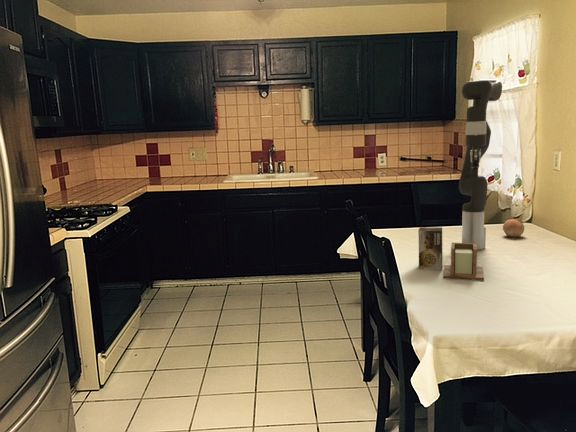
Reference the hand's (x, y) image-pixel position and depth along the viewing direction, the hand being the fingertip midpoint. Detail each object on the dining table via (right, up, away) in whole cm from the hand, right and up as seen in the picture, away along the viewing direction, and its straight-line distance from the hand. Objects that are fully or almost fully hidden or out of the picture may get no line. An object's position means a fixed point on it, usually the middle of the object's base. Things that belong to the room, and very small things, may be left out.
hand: (474, 177), depth 189 cm
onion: (+37, -26, +46) cm, 64 cm away
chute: (-7, -37, -7) cm, 39 cm away
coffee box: (-17, -36, +3) cm, 40 cm away
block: (-7, -36, -7) cm, 38 cm away
